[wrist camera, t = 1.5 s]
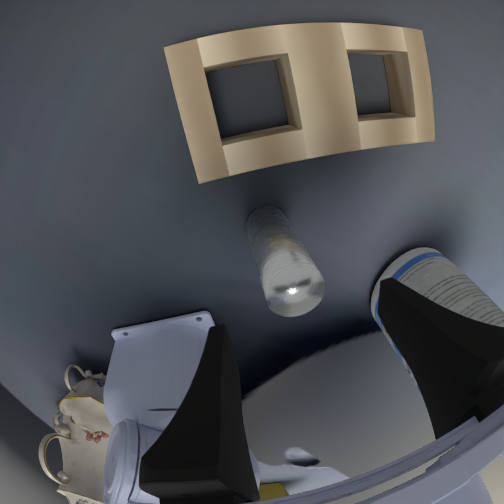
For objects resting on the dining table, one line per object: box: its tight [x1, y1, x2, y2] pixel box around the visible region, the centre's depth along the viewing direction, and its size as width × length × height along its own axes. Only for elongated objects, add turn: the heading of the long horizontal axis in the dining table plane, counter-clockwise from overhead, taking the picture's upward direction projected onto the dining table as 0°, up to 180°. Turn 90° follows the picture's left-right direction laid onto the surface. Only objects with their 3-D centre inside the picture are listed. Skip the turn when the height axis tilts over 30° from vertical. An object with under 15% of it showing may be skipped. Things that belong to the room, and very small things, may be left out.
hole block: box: [164, 23, 435, 184], centre depth 15 cm, size 16×8×3 cm, turn 102°
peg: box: [246, 206, 326, 317], centre depth 18 cm, size 3×3×8 cm
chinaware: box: [39, 364, 114, 504], centre depth 25 cm, size 28×17×17 cm, turn 11°
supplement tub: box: [371, 247, 504, 392], centre depth 20 cm, size 10×10×15 cm
